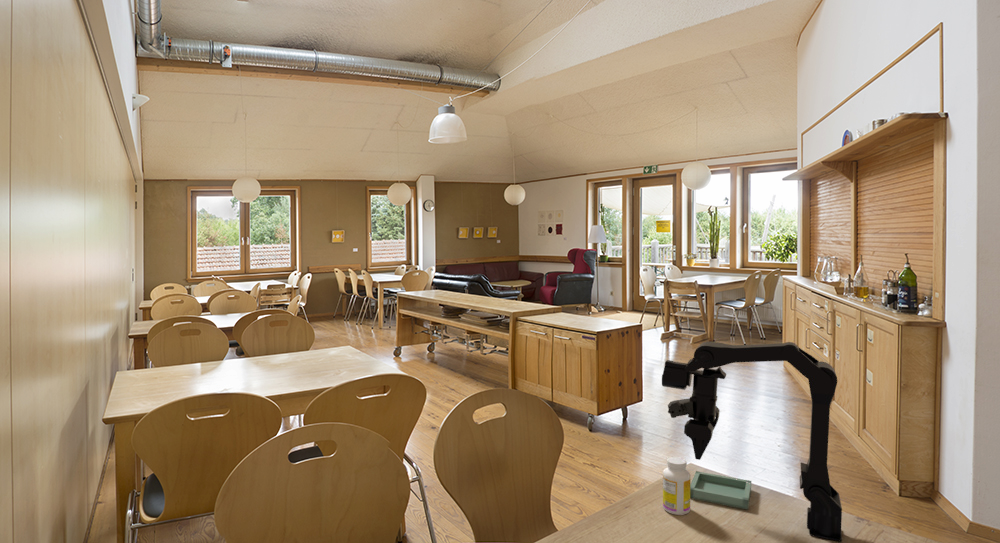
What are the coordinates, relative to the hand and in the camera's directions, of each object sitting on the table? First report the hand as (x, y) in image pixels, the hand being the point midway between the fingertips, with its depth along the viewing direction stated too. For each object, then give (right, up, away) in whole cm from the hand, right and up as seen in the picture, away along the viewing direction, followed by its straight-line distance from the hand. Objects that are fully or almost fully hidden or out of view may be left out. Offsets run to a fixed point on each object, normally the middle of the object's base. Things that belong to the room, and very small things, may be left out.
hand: (700, 452), depth 145 cm
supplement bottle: (-6, -15, 0) cm, 16 cm away
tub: (+8, -14, +8) cm, 18 cm away
